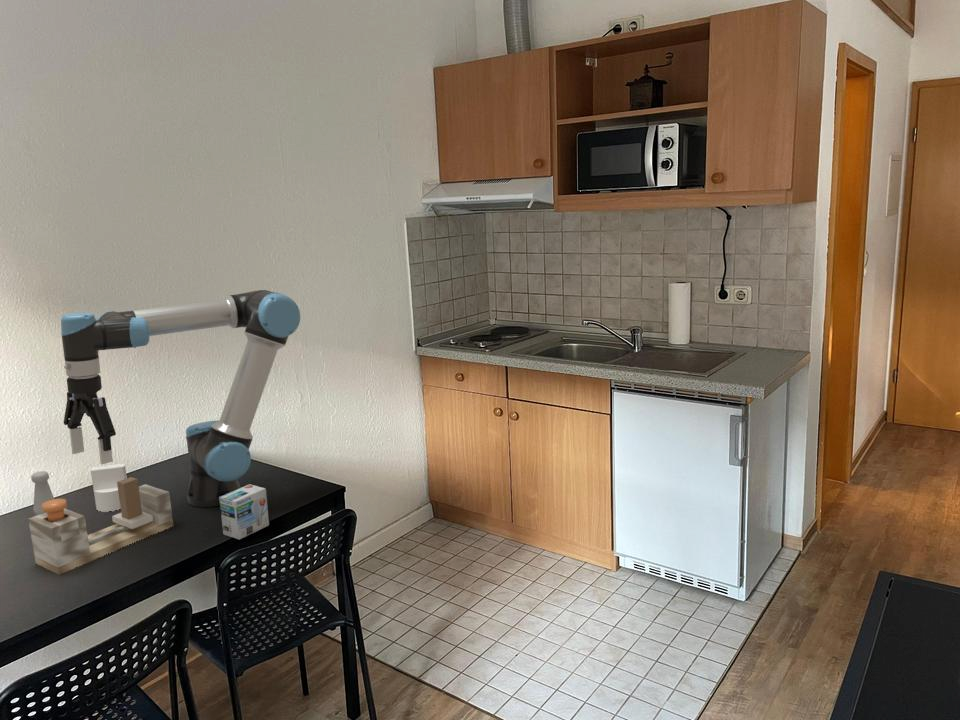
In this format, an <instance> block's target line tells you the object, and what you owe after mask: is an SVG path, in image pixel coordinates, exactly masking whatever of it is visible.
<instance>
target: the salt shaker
mask: <svg viewBox="0 0 960 720" xmlns="http://www.w3.org/2000/svg"><path fill="white" fill-rule="evenodd" d="M49 479H50V475H49V473H48V472H47V471H45V470H43V471H42V470H41V471H36V472H34V473H33V474H31V477H30V480H31V481H32V483H34V493H33V494H34V495H33V509H32V510H33V512H34V514H35V516H37V515H40V514H43V513H45V512H43V509H42V504H43V503H44V502H46V501H49V500H53V499H55V497H54V495H53V492H52V489H51V487H50V483H49V482H48V480H49Z"/></svg>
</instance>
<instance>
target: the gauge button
mask: <svg viewBox="0 0 960 720" xmlns="http://www.w3.org/2000/svg"><path fill="white" fill-rule="evenodd" d="M67 507H68V504H67V500H66V499H65V498H54V499H53V500H49V501H46V502H44V503H43V504H42V509H43V512H46V513H47V516H48V521H49V522H55V521H58V520H61V519H63V518H65V514H64V509H67Z"/></svg>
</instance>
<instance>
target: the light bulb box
mask: <svg viewBox="0 0 960 720" xmlns="http://www.w3.org/2000/svg"><path fill="white" fill-rule="evenodd" d="M219 499H220V505H219V509H220V515H221V525H222V534H223V535H224V536H227V537H230V538H234V539H236V540H242V539H243V538H246V537H248V536H249V535H251V534H252V535H253V534H254V533H256V532H259V531H260V530H262V529H264V528H266V527H268V526H270V521H269V519H270V518H269V509H268V498H267V488H265V487H262V486H261V487H260V486H258V485H255V484H254V485H253V484H251V483H249V484H246V485H245V486H242V487H241V488H240V489H237V490H235V491H233V492H230V493H228V494H226V495H223V496H221V497H219Z"/></svg>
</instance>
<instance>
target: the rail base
mask: <svg viewBox="0 0 960 720" xmlns="http://www.w3.org/2000/svg"><path fill="white" fill-rule="evenodd" d="M138 486H139V485H138ZM139 493H140V500H141V508H142V512H145V513H148V514H151V515H152V516H153V521H151V522H149V523H146V524H144V525H141V526H139V527H136V528H134V529H131V528H128V527H125V526H123V525H120V524H117V523H115V524H112V525H111V526H108V527H106V528H102V529H99V530H97V531H95V532H93V533H90V534H88V529H87V522H86V516H85V515H83V514H81V513H78V512H75V511H72V510H70V509H67V508H65V509H64V514H65V518H63V519H61V520H58V521H55V522H49V521H48V516H47V513H46V512H45V513H43V514H40V515H34V516H32V517H28V518H27V520H28V525H29V531H30V537H31V543H32V548H33V554H34V562H35V564H36V565H38V566H40V567H42V568H45V569H46V570H48V571H51V572H52V573H55V574H57V575H58V576H60V575H62V574H64V573H68V572H69V570H70V571H71V570H73V569H77V568H79V567H81V566H83V564H84V565H86V564H88V563H90V561H91V562H93V561H95V560H98V559H100V558H102V557H104V555H105V556H107V555H109V554H111V552H112V553H113V552H116V551H119V550H121V549H123V548H122V547H124V548H126V547H128V546H130V545H129V544H131V545H133V544H135V543H137V542H136V541H138V542H140V541H142V540H145V539H147V538H149V537H151V536H150V535H152V536H154V535H157V534H159V533H161V532H163V531H165V529H166V530H169V529H170V527H171V528H172V527H174V520H173V512H172V502H171V496H170V491H167V490H164V489H161V488H158V487H155V486H152V485H149V484H146V483H145V484H142V485H140V486H139ZM158 532H159V533H158ZM153 534H154V535H153ZM148 536H149V537H148ZM146 537H147V538H146ZM144 538H145V539H144ZM141 539H142V540H141ZM139 540H140V541H139ZM134 542H135V543H134ZM132 543H133V544H132ZM127 545H128V546H127ZM125 546H126V547H125ZM120 548H121V549H120ZM118 549H119V550H118ZM108 553H109V554H108ZM106 554H107V555H106ZM99 557H100V558H99ZM97 558H98V559H97ZM92 560H93V561H92ZM85 563H86V564H85ZM76 567H77V568H76Z"/></svg>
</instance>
